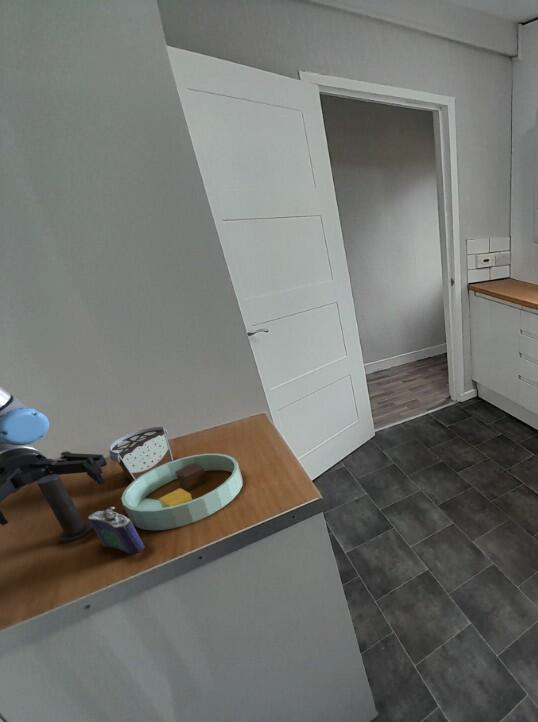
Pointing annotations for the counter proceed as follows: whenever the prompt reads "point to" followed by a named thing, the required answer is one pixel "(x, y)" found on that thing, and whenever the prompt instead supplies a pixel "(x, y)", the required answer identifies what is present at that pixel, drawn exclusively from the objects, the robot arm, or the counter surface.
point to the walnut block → (191, 476)
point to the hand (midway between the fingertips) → (54, 497)
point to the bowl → (158, 518)
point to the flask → (116, 531)
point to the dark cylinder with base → (63, 509)
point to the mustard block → (175, 498)
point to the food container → (141, 451)
